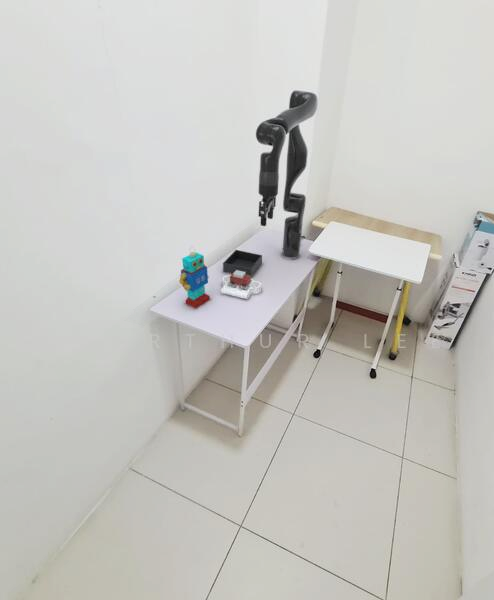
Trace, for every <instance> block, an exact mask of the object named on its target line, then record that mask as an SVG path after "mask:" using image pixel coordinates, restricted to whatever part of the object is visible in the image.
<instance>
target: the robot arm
mask: <svg viewBox="0 0 494 600" xmlns="http://www.w3.org/2000/svg"><path fill="white" fill-rule="evenodd" d="M318 107H319V99H318V96H317V94H316V93H315V92H313V91H305V90H297V89H296V90H292V92H291V94H290V96H289V101H288V108H287V109H284V110H282V111H281V112H280V113H278V114H277V115H276V116H275V117H272V118H269V119H266V120H264V121H262V122H260V123H259V124H258V126H257V127H256V129H255V139H256V141H257V143H259V144H261V145H264V146H269V147H272V149H271V151H264V152H262V153H261V154H260V159H259V172H258V173H259V174H258V194H259V196H261V197H262V199H261V200H260V201H259V202H258V217H259V218H260V226H261V227H266V226H267V220H273V218H274V210H275V207H276V206H277V205H276V203H277V196H278V194H279V180H280V174H279V173H280V169H279V168H280V158H281V154H282V151H283V147H284V145H285V141H286V138H287V135H288V141H287V151H286V167H285V173H286V174H285V183H284V192H283V199H282V209H283V211H284V212H287V213H292V214H293V213H294V214H295V215H290V216H288V217H285V218H284V225H283V239H282V247H281V256H283V257H284V258H286V259H290V260H297V259H298V258H300V251H301V250H300V249H301V243H302V238H304V239H305V238H306V236H305V235H303V234H302V233H303V224H304V216H305V215H304V214H305V209H306V202H307V198H306V195H305V194H304V193H299V192H298V193H296V192H292V189H293V187H294V185H295V183H296V182H297V180H298V179H299V178H300V177H301V175H302V174H303V173H304V171H305V169H306V168H307V164H308V155H309V151H308V146H307V143H306V140H305V138H304V136H303V133H302V131H301V128H300V124H302V123H303V122H305V121H307V120H310V119H311V118H313V117H314V116H315V115H316V113H317V111H318Z"/></svg>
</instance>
